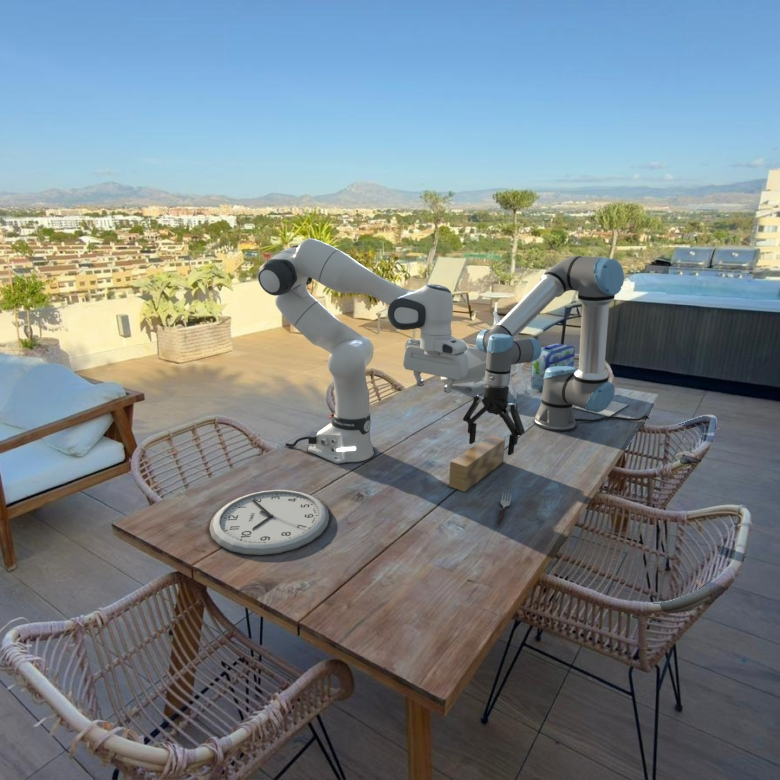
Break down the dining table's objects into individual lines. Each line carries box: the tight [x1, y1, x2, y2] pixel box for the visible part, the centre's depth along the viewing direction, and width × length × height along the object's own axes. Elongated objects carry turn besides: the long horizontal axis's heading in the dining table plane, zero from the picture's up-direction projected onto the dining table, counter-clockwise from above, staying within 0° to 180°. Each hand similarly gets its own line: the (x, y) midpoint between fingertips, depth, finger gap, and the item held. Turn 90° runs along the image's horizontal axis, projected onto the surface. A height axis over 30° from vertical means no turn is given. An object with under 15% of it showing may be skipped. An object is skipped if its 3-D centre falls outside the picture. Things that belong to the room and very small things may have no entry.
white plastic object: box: [440, 310, 531, 400], centre depth 245 cm, size 37×45×31 cm
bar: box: [448, 435, 506, 493], centre depth 162 cm, size 26×5×8 cm, turn 143°
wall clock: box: [209, 489, 330, 556], centre depth 135 cm, size 30×2×30 cm
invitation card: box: [573, 400, 629, 417], centre depth 226 cm, size 21×1×15 cm
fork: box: [497, 491, 512, 526], centre depth 140 cm, size 3×16×2 cm, turn 160°
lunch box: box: [530, 343, 576, 391], centre depth 249 cm, size 26×11×21 cm, turn 134°
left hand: (433, 388), depth 153 cm, fingers open, 8 cm apart
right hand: (490, 448), depth 168 cm, fingers open, 13 cm apart
